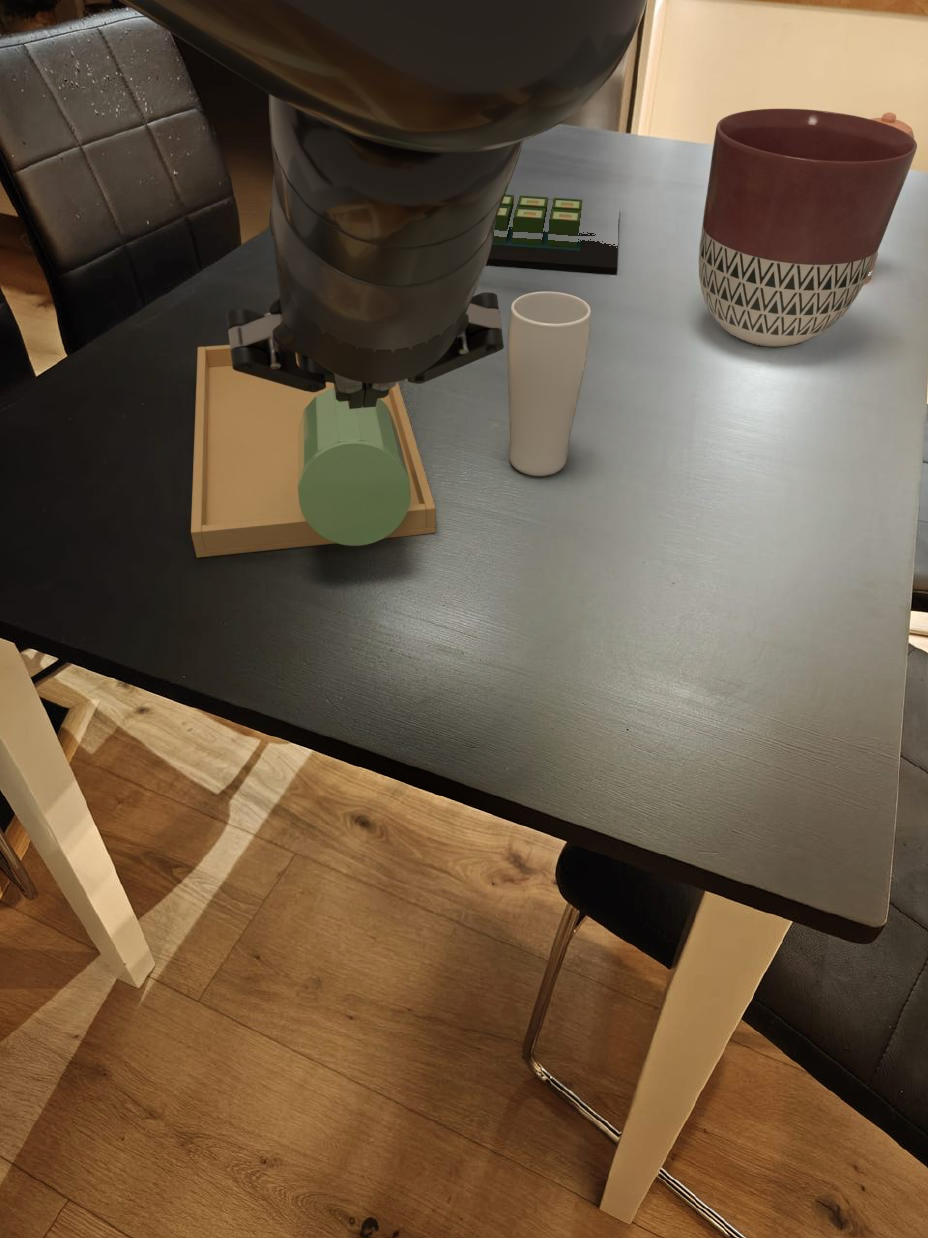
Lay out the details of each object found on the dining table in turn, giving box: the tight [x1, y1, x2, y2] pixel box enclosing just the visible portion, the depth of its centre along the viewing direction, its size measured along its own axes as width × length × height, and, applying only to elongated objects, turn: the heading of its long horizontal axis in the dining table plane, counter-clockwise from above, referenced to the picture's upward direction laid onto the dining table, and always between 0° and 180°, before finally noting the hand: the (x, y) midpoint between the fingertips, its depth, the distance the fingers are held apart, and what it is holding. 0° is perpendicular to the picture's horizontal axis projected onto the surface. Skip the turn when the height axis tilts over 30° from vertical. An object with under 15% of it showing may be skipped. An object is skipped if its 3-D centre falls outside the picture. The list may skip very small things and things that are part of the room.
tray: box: [190, 344, 437, 558], centre depth 85 cm, size 20×33×3 cm, turn 11°
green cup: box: [298, 388, 411, 547], centre depth 72 cm, size 8×8×13 cm
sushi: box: [485, 193, 619, 276], centre depth 127 cm, size 25×25×4 cm
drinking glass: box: [507, 291, 592, 477], centre depth 79 cm, size 7×7×15 cm
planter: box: [698, 108, 918, 348], centre depth 98 cm, size 20×20×21 cm
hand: (360, 390), depth 49 cm, fingers closed
